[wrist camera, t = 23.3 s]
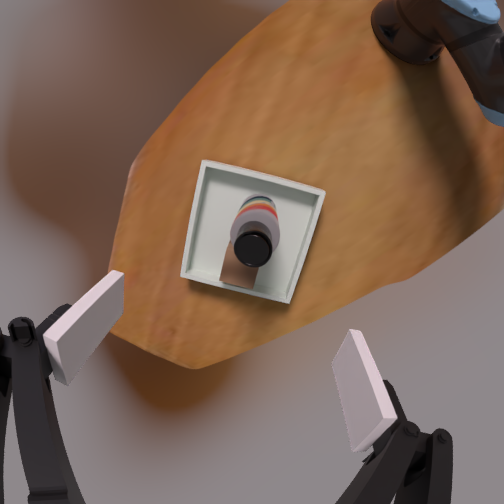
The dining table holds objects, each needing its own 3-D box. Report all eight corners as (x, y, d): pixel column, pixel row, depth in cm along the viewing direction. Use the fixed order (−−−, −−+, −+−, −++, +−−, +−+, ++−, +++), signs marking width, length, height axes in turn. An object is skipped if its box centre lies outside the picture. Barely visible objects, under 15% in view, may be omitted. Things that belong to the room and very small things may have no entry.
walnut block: (230, 238, 47) (226, 248, 42) (262, 246, 48) (261, 258, 42) (223, 267, 49) (218, 280, 44) (254, 275, 49) (252, 289, 44)
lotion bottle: (283, 213, 46) (294, 256, 27) (255, 233, 47) (247, 288, 28) (261, 185, 44) (258, 209, 25) (234, 206, 46) (210, 245, 27)
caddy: (208, 159, 45) (202, 160, 41) (320, 188, 46) (325, 192, 41) (187, 265, 52) (180, 276, 47) (287, 291, 53) (289, 303, 48)
